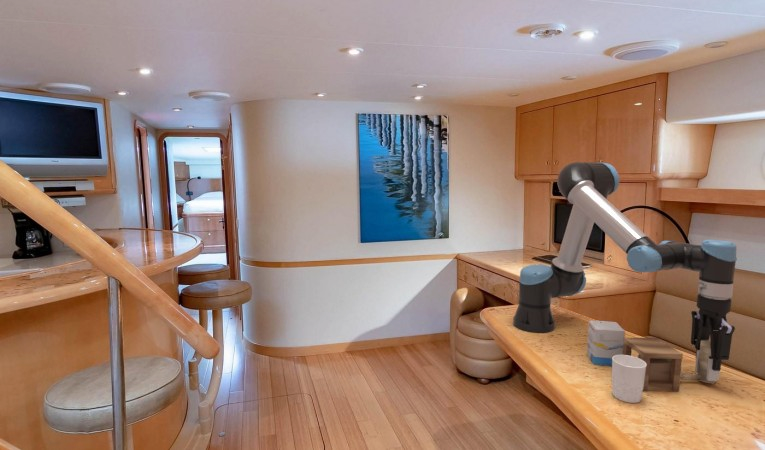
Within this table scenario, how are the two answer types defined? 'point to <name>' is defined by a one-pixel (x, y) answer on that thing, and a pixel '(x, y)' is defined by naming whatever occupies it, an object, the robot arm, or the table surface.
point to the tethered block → (662, 371)
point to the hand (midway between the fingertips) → (706, 375)
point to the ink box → (604, 342)
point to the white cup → (628, 378)
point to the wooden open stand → (656, 350)
